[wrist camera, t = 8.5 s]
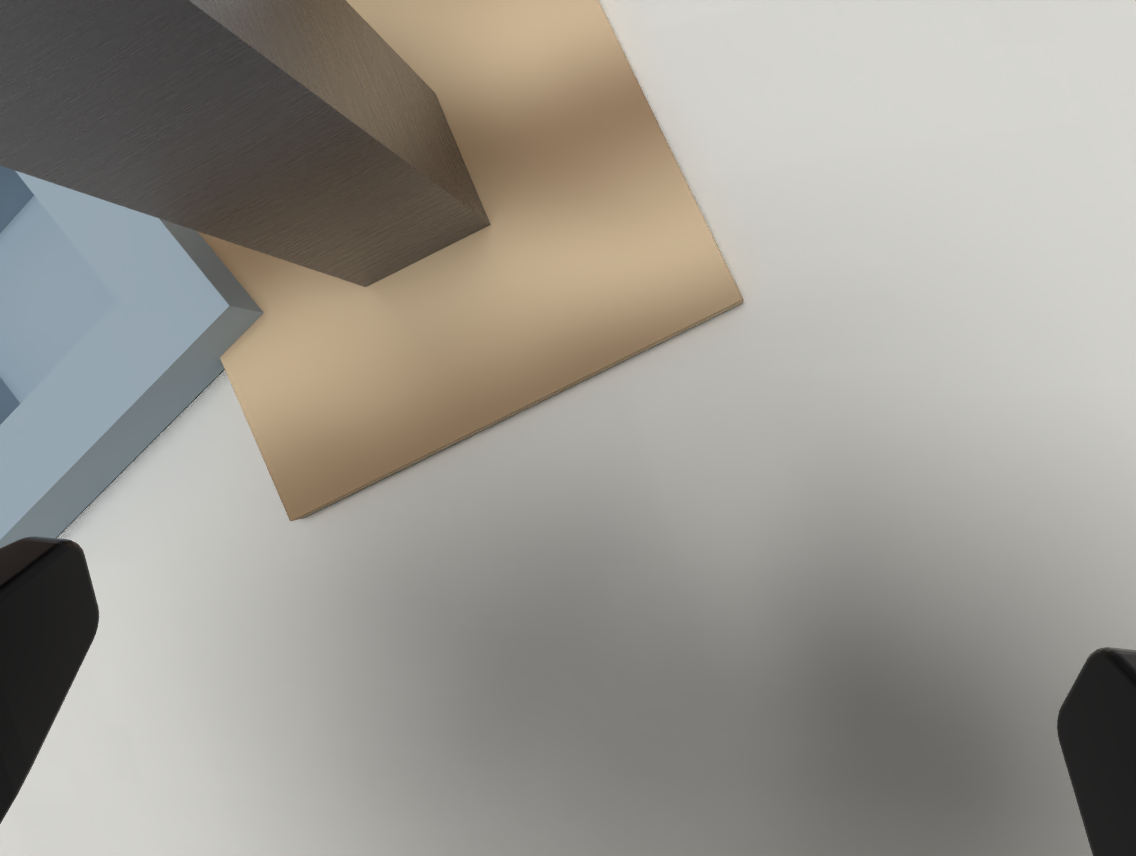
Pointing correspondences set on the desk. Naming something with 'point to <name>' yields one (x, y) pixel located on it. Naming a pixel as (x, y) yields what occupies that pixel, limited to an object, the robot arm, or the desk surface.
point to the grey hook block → (238, 126)
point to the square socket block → (97, 343)
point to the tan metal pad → (483, 258)
